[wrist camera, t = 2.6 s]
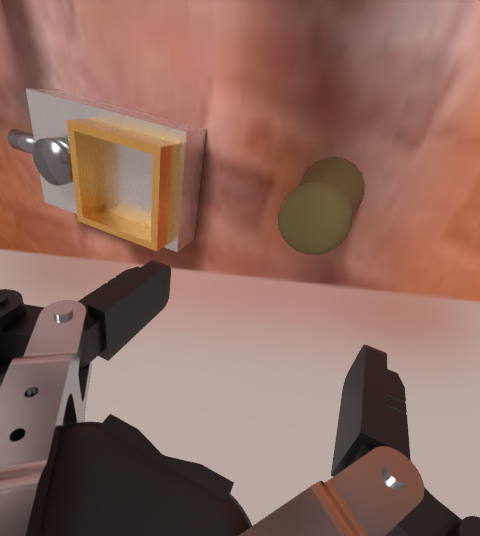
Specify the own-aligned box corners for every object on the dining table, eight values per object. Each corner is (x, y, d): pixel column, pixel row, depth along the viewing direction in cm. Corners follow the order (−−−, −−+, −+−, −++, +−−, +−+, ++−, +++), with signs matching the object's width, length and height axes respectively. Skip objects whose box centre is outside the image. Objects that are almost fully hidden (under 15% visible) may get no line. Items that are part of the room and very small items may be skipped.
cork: (288, 192, 32) (250, 227, 23) (330, 143, 28) (306, 162, 19) (331, 231, 32) (311, 282, 23) (379, 187, 28) (377, 227, 19)
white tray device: (25, 81, 38) (-38, 77, 32) (206, 128, 32) (168, 134, 26) (42, 184, 45) (-7, 196, 39) (194, 239, 39) (162, 263, 33)
